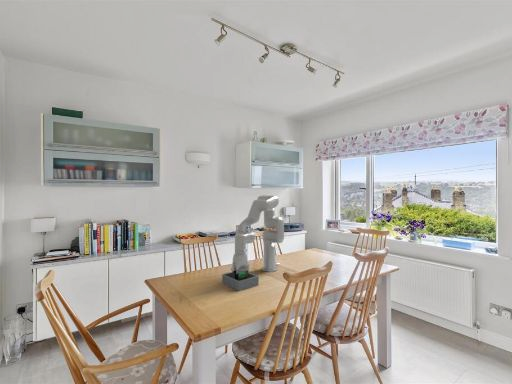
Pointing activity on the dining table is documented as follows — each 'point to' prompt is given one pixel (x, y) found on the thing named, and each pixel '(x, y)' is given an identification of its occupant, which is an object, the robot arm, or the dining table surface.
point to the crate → (239, 285)
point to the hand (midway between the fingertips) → (240, 278)
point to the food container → (242, 273)
